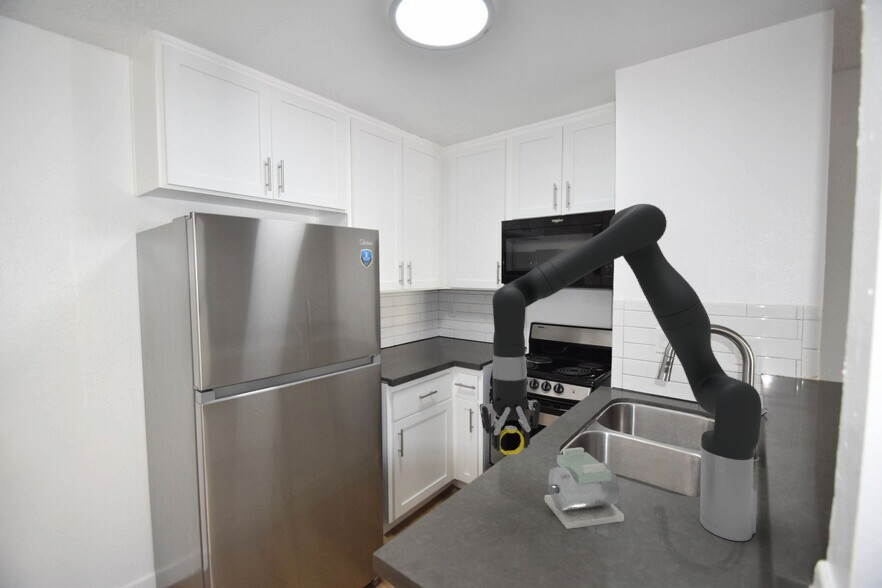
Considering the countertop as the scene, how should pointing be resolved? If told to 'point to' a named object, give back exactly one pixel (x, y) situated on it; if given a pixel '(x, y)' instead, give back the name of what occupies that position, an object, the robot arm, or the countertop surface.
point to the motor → (583, 490)
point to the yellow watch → (512, 430)
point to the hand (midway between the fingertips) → (510, 447)
